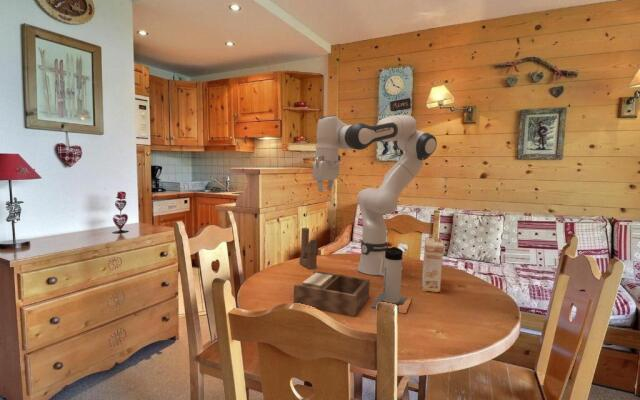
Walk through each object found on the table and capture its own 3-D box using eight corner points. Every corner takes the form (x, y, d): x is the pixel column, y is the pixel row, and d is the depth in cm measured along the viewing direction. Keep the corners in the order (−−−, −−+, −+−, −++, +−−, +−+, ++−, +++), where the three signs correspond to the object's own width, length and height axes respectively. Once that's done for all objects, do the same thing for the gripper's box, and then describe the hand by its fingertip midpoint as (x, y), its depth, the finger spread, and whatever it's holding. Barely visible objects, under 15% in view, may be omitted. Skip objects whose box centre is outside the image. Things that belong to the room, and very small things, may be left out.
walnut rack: (293, 304, 128) (294, 285, 127) (314, 287, 146) (314, 270, 145) (354, 316, 120) (355, 296, 119) (368, 297, 137) (369, 279, 136)
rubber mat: (380, 294, 140) (380, 293, 140) (411, 300, 136) (412, 298, 136) (371, 307, 127) (371, 306, 127) (406, 314, 123) (406, 312, 123)
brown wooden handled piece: (309, 269, 169) (311, 232, 167) (299, 263, 178) (300, 227, 176) (316, 268, 171) (317, 231, 169) (305, 262, 180) (306, 227, 178)
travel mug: (400, 300, 134) (403, 247, 132) (399, 306, 128) (402, 251, 125) (383, 297, 136) (386, 246, 133) (381, 304, 129) (384, 250, 127)
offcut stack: (301, 302, 130) (301, 282, 130) (314, 290, 142) (315, 272, 142) (320, 306, 128) (321, 285, 127) (332, 294, 140) (333, 275, 139)
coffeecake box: (440, 293, 144) (444, 246, 141) (422, 291, 145) (425, 244, 143) (438, 281, 158) (442, 238, 156) (421, 279, 160) (425, 237, 158)
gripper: (324, 156, 132) (323, 193, 134) (342, 157, 151) (340, 189, 153) (309, 155, 135) (307, 192, 136) (328, 156, 154) (327, 189, 155)
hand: (325, 191), depth 145 cm, fingers open, 8 cm apart
